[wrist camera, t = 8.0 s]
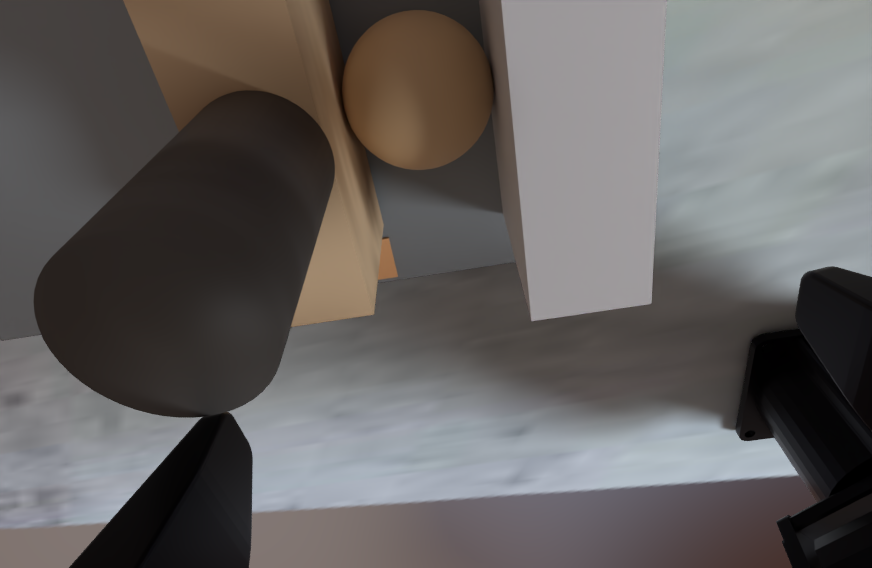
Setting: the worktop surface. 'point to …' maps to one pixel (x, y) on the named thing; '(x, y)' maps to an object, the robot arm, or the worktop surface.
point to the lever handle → (221, 215)
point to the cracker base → (130, 122)
